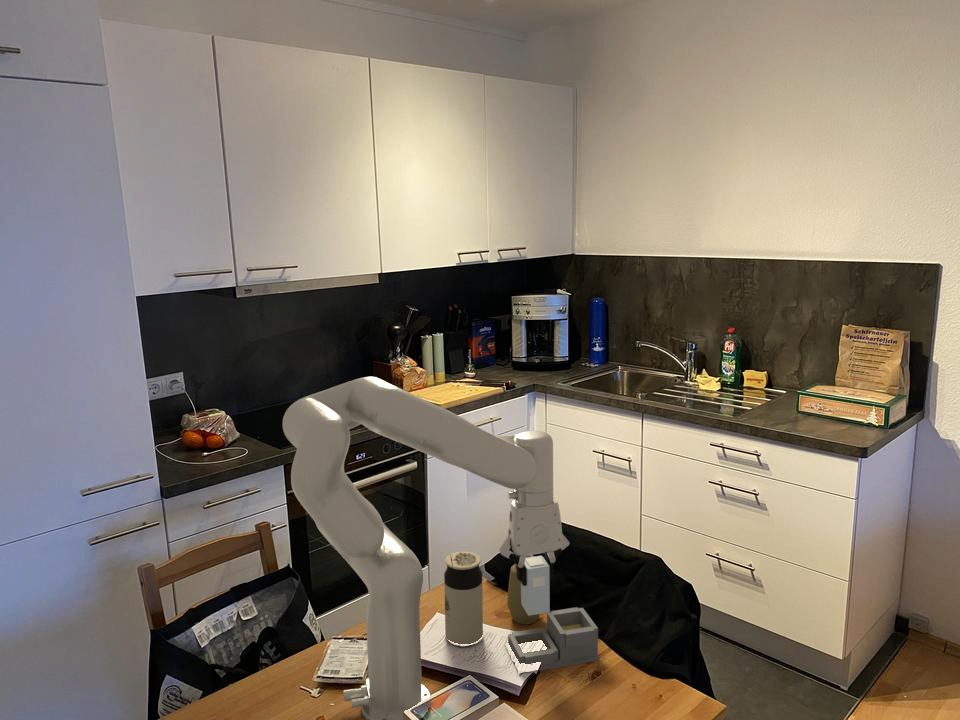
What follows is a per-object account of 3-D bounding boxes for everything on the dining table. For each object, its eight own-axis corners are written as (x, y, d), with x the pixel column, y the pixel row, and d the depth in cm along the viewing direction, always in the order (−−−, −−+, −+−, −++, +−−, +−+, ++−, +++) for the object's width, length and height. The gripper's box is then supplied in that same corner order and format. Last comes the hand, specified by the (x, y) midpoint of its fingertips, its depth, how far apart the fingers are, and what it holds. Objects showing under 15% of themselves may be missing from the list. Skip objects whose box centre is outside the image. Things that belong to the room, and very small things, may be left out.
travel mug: (483, 626, 155) (482, 550, 152) (482, 648, 148) (481, 568, 144) (446, 626, 156) (445, 550, 152) (444, 648, 148) (442, 568, 144)
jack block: (518, 674, 139) (518, 644, 138) (504, 645, 149) (504, 616, 147) (599, 660, 143) (600, 631, 142) (580, 633, 153) (580, 605, 152)
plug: (528, 616, 141) (527, 568, 138) (521, 604, 145) (520, 557, 143) (549, 612, 142) (549, 565, 140) (542, 600, 146) (541, 554, 144)
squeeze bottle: (500, 613, 161) (500, 539, 157) (532, 605, 164) (532, 532, 161) (517, 631, 154) (517, 554, 150) (549, 622, 157) (550, 546, 153)
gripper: (497, 507, 133) (499, 596, 136) (581, 496, 137) (581, 583, 141) (487, 492, 140) (489, 577, 144) (567, 482, 144) (567, 565, 148)
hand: (535, 579), depth 142 cm, fingers closed on plug, 4 cm apart
